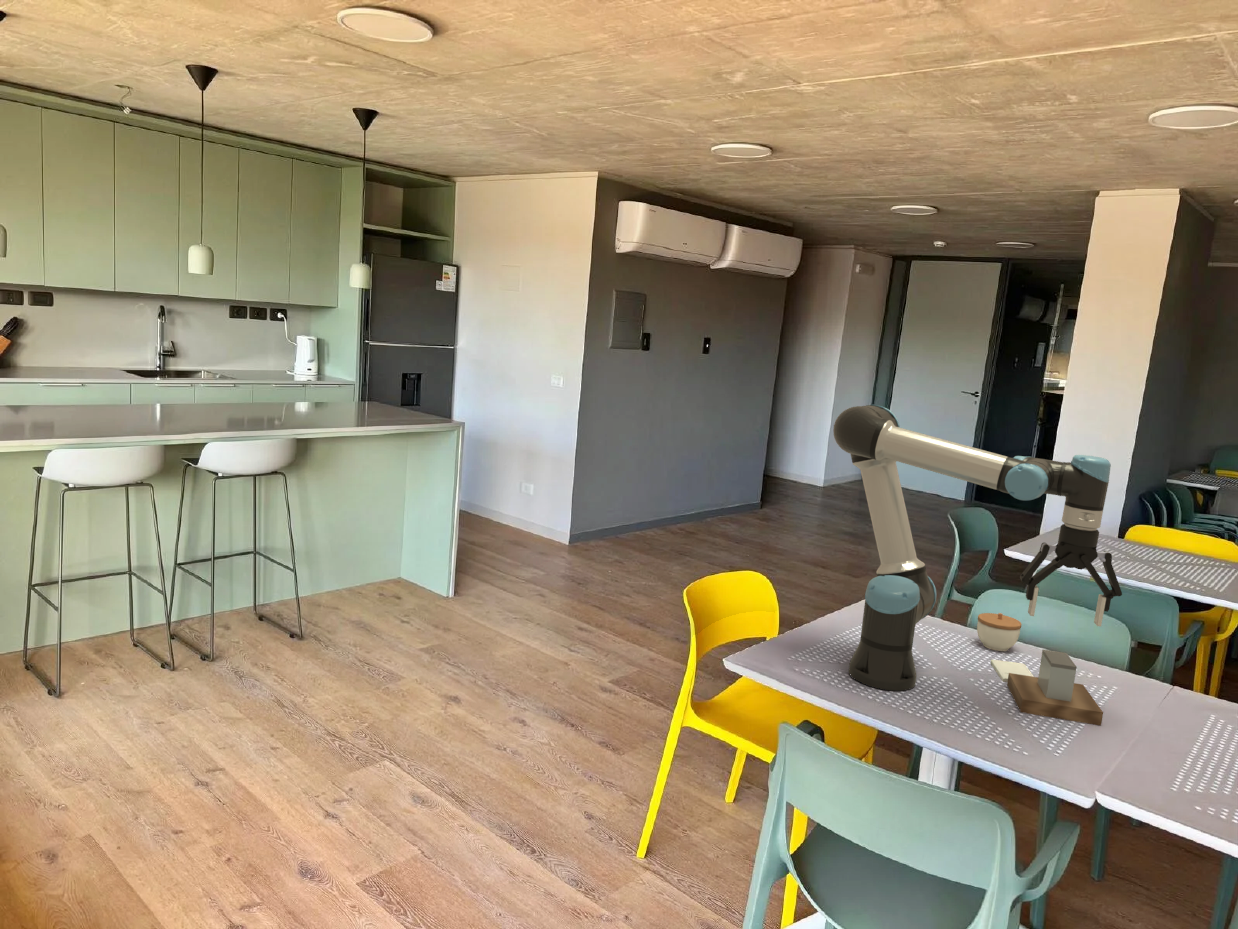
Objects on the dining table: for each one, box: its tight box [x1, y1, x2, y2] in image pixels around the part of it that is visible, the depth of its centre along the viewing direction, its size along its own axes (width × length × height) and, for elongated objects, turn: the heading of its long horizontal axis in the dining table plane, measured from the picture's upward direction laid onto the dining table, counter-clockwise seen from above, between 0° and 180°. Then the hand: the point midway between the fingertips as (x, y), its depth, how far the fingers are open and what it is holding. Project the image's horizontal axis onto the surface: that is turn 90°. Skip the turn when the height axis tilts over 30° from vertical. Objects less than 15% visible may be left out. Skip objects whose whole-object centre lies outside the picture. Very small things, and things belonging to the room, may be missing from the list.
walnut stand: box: [1006, 673, 1104, 726], centre depth 192 cm, size 16×16×3 cm
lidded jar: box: [976, 612, 1022, 652], centre depth 228 cm, size 11×11×9 cm
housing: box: [1037, 649, 1078, 702], centre depth 191 cm, size 5×9×8 cm, turn 165°
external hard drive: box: [990, 659, 1035, 683], centre depth 209 cm, size 2×8×12 cm
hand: (1063, 619), depth 190 cm, fingers open, 13 cm apart
